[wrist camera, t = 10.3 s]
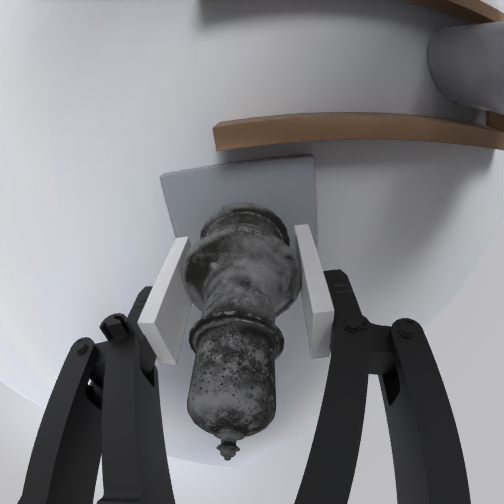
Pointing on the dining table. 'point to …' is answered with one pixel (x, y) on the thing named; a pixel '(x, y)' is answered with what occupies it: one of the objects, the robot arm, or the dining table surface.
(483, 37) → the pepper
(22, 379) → the dining table surface
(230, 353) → the grey chess piece
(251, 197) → the coaster
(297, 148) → the dining table surface
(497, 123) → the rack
